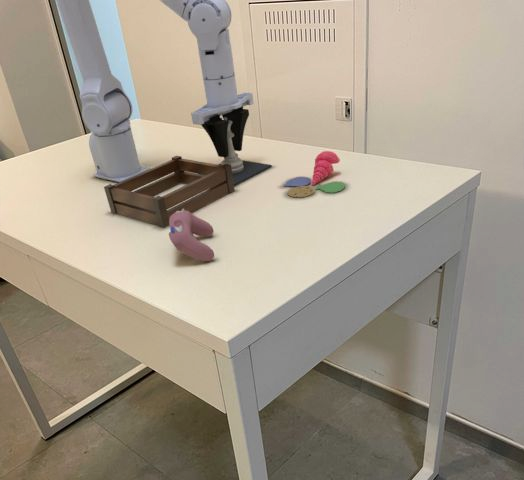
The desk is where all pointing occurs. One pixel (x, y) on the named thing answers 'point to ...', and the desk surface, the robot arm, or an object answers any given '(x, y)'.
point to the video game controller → (190, 235)
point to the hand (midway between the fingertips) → (230, 153)
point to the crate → (155, 208)
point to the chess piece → (232, 153)
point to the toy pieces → (317, 177)
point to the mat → (248, 171)
